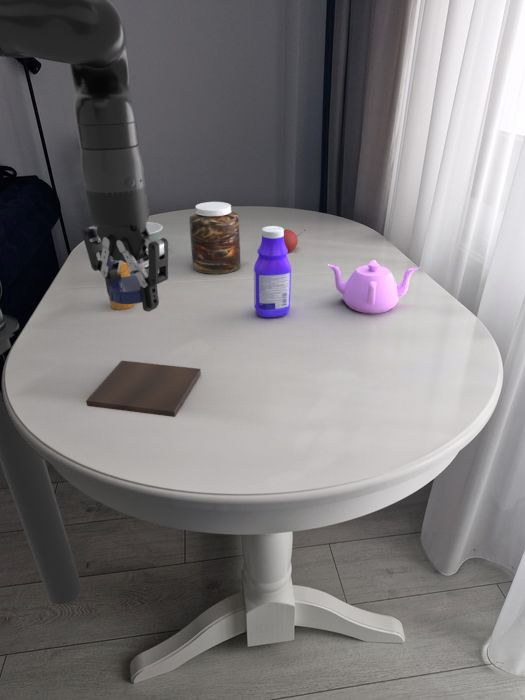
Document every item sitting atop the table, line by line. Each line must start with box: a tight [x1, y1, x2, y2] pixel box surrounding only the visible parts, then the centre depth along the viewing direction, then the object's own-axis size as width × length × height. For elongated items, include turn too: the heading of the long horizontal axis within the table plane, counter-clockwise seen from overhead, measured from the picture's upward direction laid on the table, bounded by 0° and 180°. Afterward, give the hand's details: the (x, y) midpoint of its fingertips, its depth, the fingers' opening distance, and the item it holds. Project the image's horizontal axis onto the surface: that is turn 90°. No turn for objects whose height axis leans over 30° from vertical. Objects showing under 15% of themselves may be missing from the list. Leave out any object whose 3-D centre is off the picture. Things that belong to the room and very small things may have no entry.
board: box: [85, 360, 202, 418], centre depth 80 cm, size 14×12×1 cm
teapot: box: [327, 259, 419, 314], centre depth 105 cm, size 12×14×9 cm
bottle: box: [253, 225, 292, 318], centre depth 100 cm, size 7×6×17 cm
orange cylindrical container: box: [108, 261, 136, 311], centre depth 106 cm, size 5×5×10 cm
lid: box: [108, 276, 142, 305], centre depth 72 cm, size 6×6×2 cm
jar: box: [189, 201, 241, 275], centre depth 124 cm, size 12×12×15 cm
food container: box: [146, 221, 164, 240], centre depth 137 cm, size 12×12×6 cm
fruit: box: [284, 229, 306, 253], centre depth 137 cm, size 6×6×8 cm
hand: (133, 304), depth 73 cm, fingers closed on lid, 6 cm apart
